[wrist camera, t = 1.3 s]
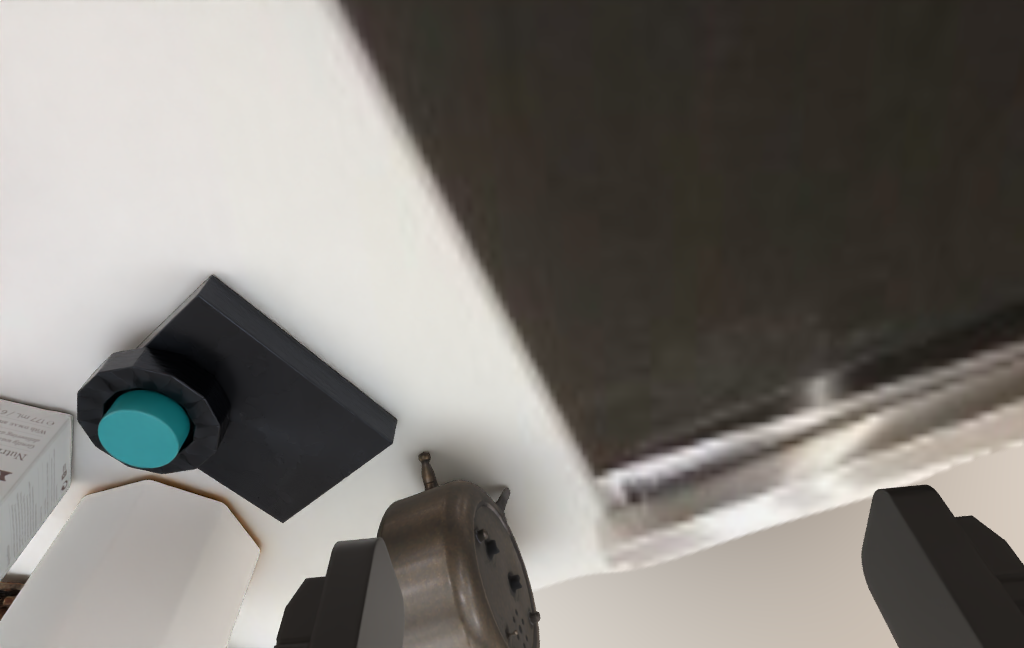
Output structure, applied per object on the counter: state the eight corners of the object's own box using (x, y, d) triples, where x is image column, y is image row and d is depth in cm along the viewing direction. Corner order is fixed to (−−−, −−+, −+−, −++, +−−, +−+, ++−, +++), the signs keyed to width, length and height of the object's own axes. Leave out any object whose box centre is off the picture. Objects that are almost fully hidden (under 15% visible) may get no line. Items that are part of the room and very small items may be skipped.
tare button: (97, 416, 34) (81, 438, 33) (140, 376, 33) (125, 397, 32) (162, 457, 36) (149, 480, 34) (205, 420, 34) (193, 442, 33)
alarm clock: (387, 446, 39) (325, 752, 26) (476, 416, 38) (460, 720, 25) (470, 565, 45) (454, 870, 31) (549, 542, 44) (570, 848, 30)
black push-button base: (86, 375, 37) (50, 419, 34) (199, 263, 33) (169, 301, 30) (283, 504, 42) (266, 552, 39) (398, 419, 38) (389, 465, 35)
